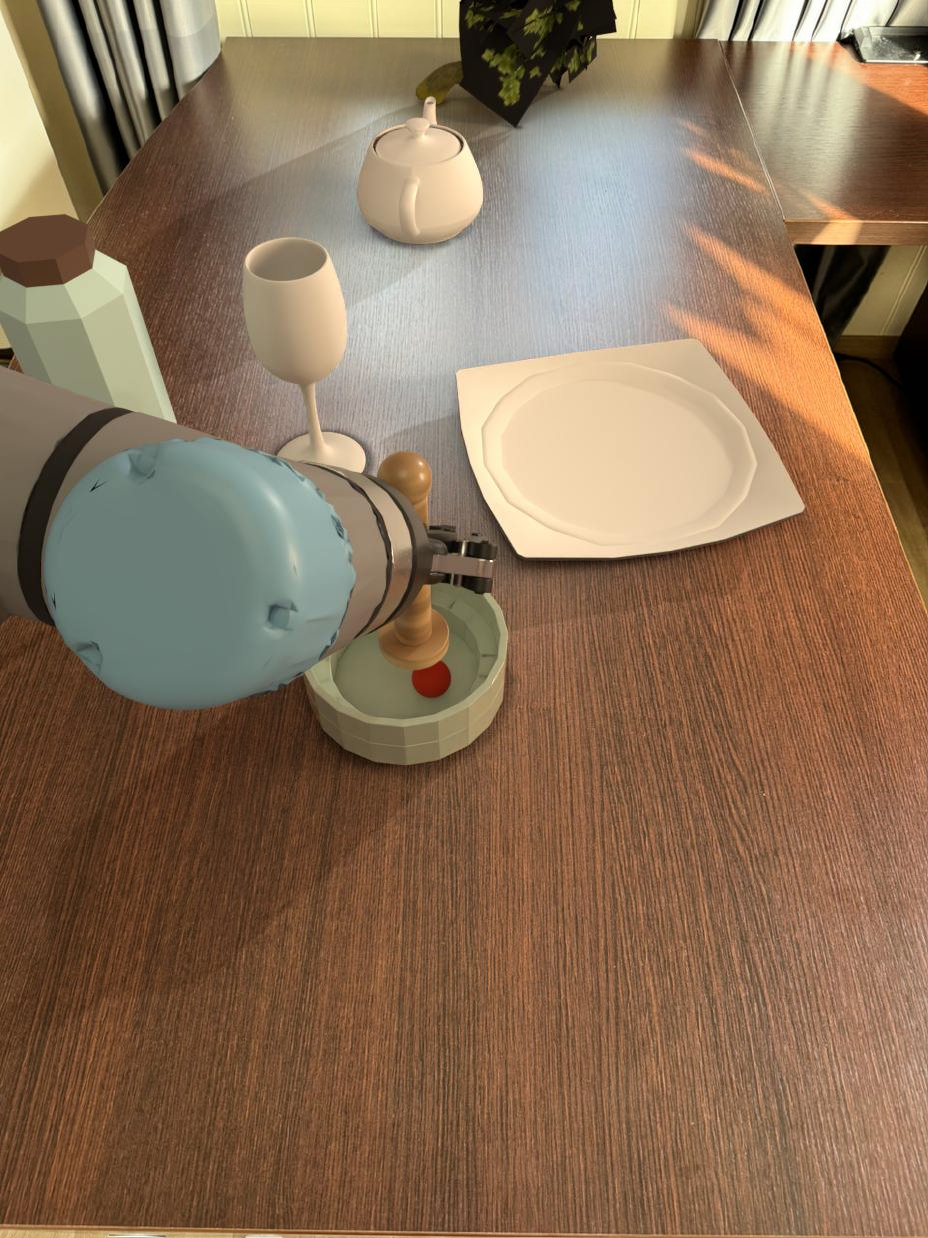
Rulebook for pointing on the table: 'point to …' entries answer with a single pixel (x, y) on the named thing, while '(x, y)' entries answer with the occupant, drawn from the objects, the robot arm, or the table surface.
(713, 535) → the plate
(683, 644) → the table surface
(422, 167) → the teapot
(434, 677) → the tomato
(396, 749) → the bowl
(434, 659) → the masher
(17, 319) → the water bottle
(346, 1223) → the table surface
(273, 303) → the wineglass
